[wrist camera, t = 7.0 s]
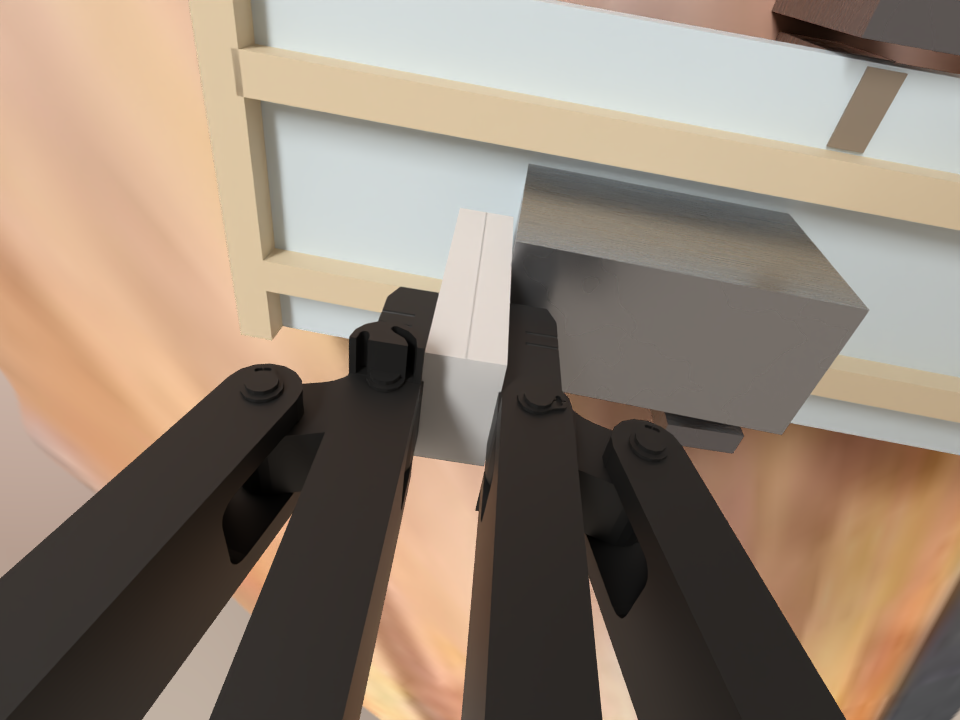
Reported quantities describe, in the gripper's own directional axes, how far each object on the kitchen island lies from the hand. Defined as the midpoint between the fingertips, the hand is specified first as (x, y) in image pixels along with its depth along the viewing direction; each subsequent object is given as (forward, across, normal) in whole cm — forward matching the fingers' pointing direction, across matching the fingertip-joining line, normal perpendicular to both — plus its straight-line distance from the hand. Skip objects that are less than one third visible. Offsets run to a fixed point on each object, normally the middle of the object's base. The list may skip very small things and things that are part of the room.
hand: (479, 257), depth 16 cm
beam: (+3, +10, 0) cm, 10 cm away
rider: (+3, +5, 0) cm, 6 cm away
